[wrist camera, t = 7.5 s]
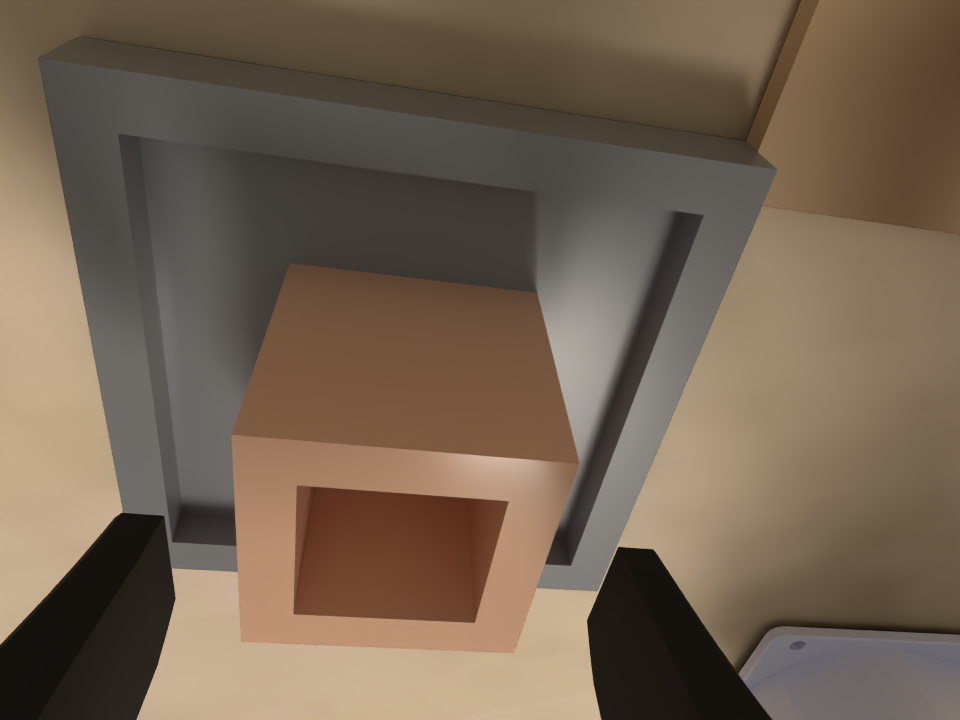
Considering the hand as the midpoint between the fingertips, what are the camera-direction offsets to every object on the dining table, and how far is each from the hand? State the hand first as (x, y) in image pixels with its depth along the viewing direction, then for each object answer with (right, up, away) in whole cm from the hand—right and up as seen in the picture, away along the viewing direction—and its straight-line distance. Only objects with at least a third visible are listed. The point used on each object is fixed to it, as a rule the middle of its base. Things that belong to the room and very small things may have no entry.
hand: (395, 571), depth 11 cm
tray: (0, +3, +5) cm, 6 cm away
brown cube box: (0, +3, +4) cm, 5 cm away
